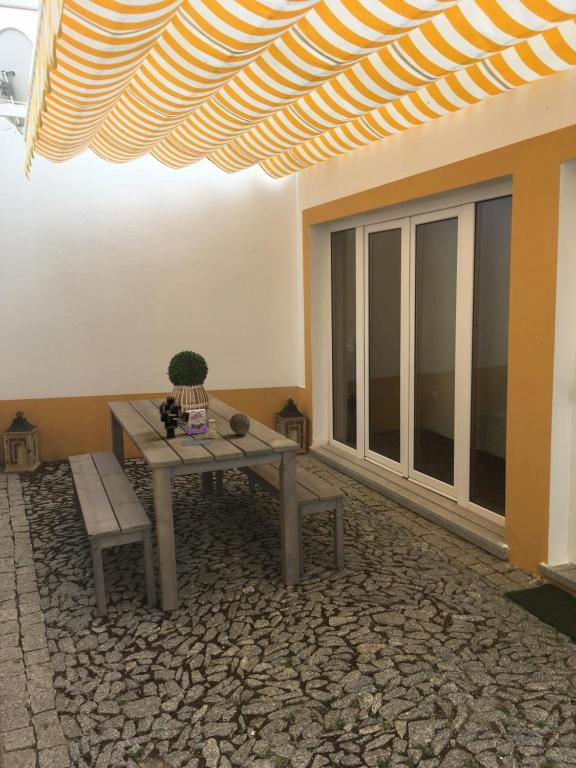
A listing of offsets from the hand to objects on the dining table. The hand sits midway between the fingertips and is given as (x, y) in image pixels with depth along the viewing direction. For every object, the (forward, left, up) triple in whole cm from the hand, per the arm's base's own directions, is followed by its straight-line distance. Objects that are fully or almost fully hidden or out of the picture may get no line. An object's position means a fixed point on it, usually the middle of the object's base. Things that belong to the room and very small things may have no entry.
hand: (178, 421), depth 416 cm
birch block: (-15, +23, -16) cm, 32 cm away
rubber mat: (-4, +11, -16) cm, 20 cm away
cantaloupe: (-18, +42, -16) cm, 48 cm away
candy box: (-33, +13, -16) cm, 39 cm away
